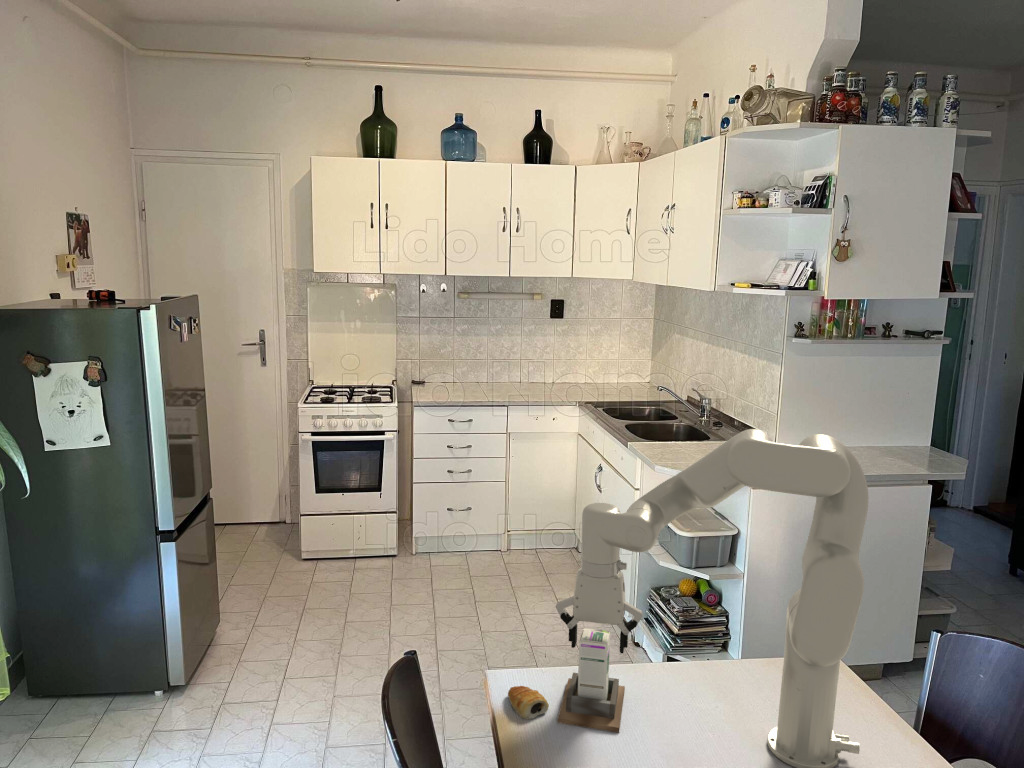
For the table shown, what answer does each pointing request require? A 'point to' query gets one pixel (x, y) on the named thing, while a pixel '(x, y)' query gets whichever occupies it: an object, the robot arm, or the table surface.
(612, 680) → the socket stand
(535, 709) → the pastry
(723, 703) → the table surface
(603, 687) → the syrup box
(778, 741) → the robot arm
